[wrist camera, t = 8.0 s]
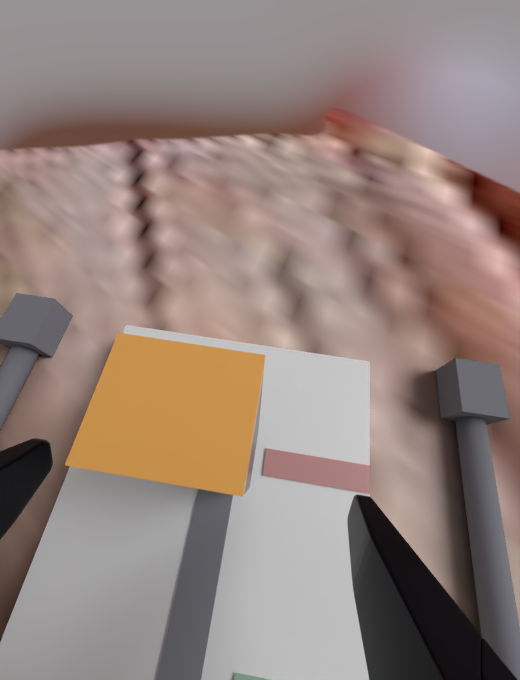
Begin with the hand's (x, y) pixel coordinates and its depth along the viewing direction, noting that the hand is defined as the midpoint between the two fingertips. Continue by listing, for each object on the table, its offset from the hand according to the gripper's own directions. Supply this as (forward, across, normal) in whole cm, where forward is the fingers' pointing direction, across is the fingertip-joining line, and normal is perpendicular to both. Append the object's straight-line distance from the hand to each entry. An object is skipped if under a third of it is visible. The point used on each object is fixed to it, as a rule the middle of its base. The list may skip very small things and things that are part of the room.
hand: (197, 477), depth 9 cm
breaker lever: (+5, 0, +3) cm, 6 cm away
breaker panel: (+4, 0, +8) cm, 8 cm away
